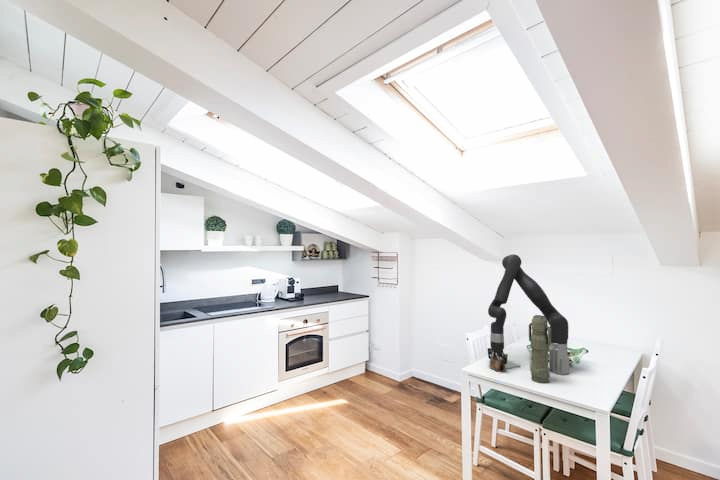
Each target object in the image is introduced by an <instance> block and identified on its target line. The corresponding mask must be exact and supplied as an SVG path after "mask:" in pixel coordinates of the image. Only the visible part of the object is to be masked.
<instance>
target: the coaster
mask: <svg viewBox="0 0 720 480" xmlns="http://www.w3.org/2000/svg"><path fill="white" fill-rule="evenodd" d="M520 367H521V365H520V364H517V363H515V362H512V361H510V360H508V359H507V364H505V371H507V370H511V369H516V368H520Z"/></svg>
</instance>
